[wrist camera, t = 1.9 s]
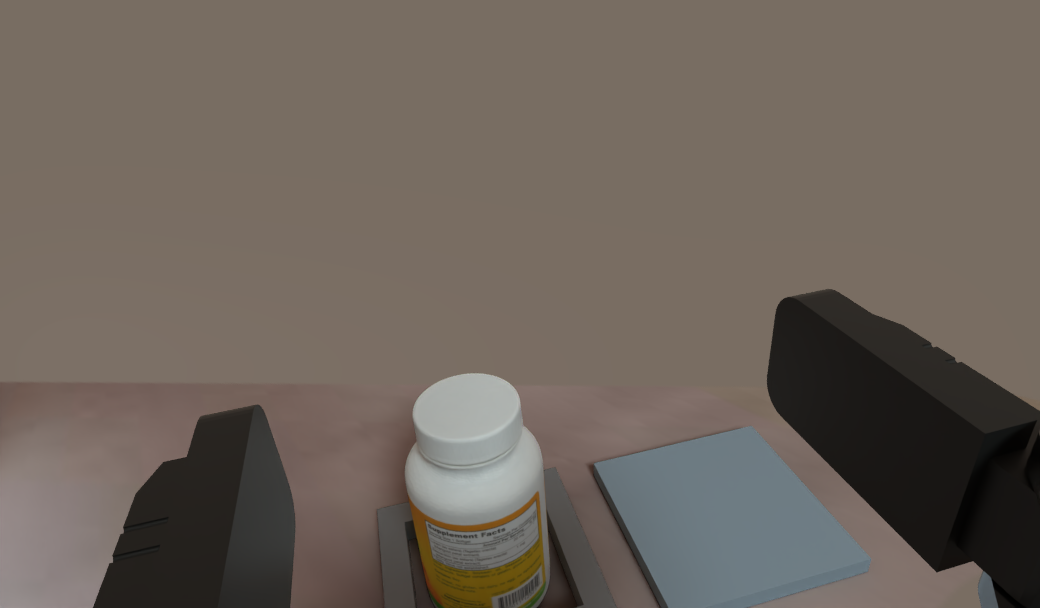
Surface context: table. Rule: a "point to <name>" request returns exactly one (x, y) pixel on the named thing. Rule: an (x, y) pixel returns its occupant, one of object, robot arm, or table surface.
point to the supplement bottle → (478, 496)
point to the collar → (562, 526)
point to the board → (725, 523)
